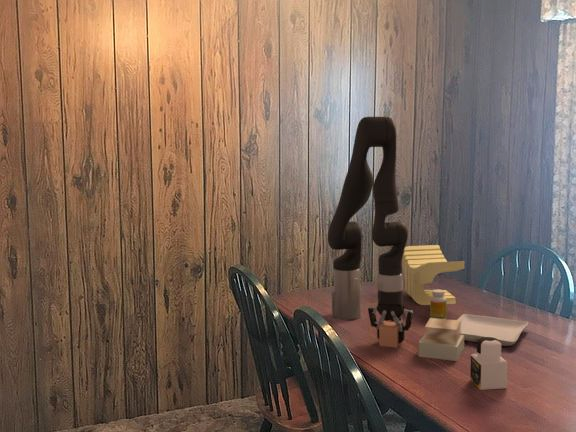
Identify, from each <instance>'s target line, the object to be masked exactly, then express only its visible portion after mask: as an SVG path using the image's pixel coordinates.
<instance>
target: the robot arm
mask: <svg viewBox="0 0 576 432" xmlns="http://www.w3.org/2000/svg"><path fill="white" fill-rule="evenodd" d="M396 126H397V125H396V123H395V121H394V119H393V118H391V117H390V116H364V117H362V118H361V119H360V120H359V122H358V124H357V128H356V131H355V135H354V136H355V137H354V143H353V147H352V153H351V157H350V162H349V166H348V168H347V172H346V175H345V178H344V181H343V186H342V188H341V194H340V197H339V201H338V203H337V207H336V209H335V212H334V215H333V217H332V220H331V221H330V225H329V226H328V229H327V230H328V231H327V242H328V243H327V244H328V246H329V247H330V248H331V249H332V250H336V251H341V250H345V252H343V254H341V255H340V256H339V257H337V258H335V259H334V260H333V264H332V266H333V272H332V273H333V289H332V290H331V312H332V313H331V316H332V317H333V318H336V319H339V320H344V321H345V320H347V321H349V320H357V319H359V318H360V317H361V316H362V315H361V313H362V310H361V309H362V308H361V303H362V302H361V299H362V297H361V262H362V249H363V248H362V246H363V245H362V243H363V234H362V233H363V232H362V228H361V226H360V224H359V223H358V222H357V221H350V220H351V219H352V217H354V216H355V215H357V213H358V212H359V211H360V210H362V208H363V207H364V206H365V205H366V204H367V203H368V201H369V199H370V197H371V194H372V195H373V203H374V219H373V225H372V231H371V238H372V241H373V243H374V244H375V245H376V246H377V247H379V248H381V247H382V248H383V247H391V249H390V250H389V251H387V252H384V253H381V254H380V255H379V256H378V261H377V262H378V274H377V275H378V277H377V305H376V306H374V305H370V306H369V307H368V309H367V311H368V317H369V323H370V326H371V327H373V328H375V329H376V338H377V340H379V326H380V325H382V324H383V323H384V322H385V321H386V322H395V324H396V325H397V327H398V329H399V332H398V342H399V343H401V344H402V343H403V342H404V340H405V331H406V332H407V331H409V330H410V329H411V326H412V323H413V322H412V321H413V316H414V310H413V309H405V306H404V280H403V279H404V278H403V267H402V258H403V254H404V249H405V247H407V242H408V238H409V237H408V236H409V231H408V228H407V226H406V225H405V223H404V222H402V221H393V222H392V221H391V222H386V219H387V217H388V216H391V215H394V214H397V213H398V212H399V199H398V192H397V191H398V190H397V181H396V180H397V179H396V171H397V169H396V168H397V167H396V166H397V127H396ZM370 148H382V161H381V165H380V168H379V170H378V172H377V175H376V177H375V179H374V176H373V175H374V174H373V172H372V170H371V168H370V166H369V163H368V159H367V158H368V152H369V150H370ZM377 312H378V314H379V315H380V317H379V320H377V316H376V314H377ZM403 314H404V317H405V318H406V320H405V325H404V321H403V317H402V315H403Z"/></svg>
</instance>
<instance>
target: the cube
mask: <svg viewBox="0 0 576 432" xmlns="http://www.w3.org/2000/svg"><path fill="white" fill-rule="evenodd" d="M398 332H399V329H398V327H397V325H396V324H395V321H386V320H385V322H384V323H383V324H382V325H380V326H379V339H378V341H379V345H378V346H380V347H388V348H389V347H390V348H399V346H400V345H401V344H402V343H399V342H398Z"/></svg>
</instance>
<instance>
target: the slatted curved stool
mask: <svg viewBox="0 0 576 432" xmlns="http://www.w3.org/2000/svg"><path fill="white" fill-rule="evenodd" d="M464 269H465V260H458V261H457V260H456V261H451V260H450V261H447V258H445V255H444V254H443V252H442V250H441V247H440V245H439V244H432V245H429V244H428V245H425V244H424V245H408V246H407V245H406V246H405V249H404V254H403V258H402V270H403V271H404V284H405V292H406V293H407V295H408V296H409V297H410V298H412V300H413V301H414V302H416V303H417V304H418V305H421V306H430V298H431V297H432V296H433V295H432V291H433V290H434V289H425V286H426V284H427V285H429V284H432V283H433V281H434V279H435V277H436V276H437V275H438V274H441V273H442V274H443V273H449V272H450V273H451V272H458V271H460V270H464ZM443 290H444V297H446V300H447V305H451V304H453V305H455V304H457V300H456V297H455V296H454V295H452V294H451V293H450V292H449V291H448V290H446V289H443Z"/></svg>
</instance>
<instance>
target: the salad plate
mask: <svg viewBox="0 0 576 432" xmlns="http://www.w3.org/2000/svg"><path fill="white" fill-rule="evenodd" d="M456 320H460V321H461V335H464V341H465V342H466V341H467V342H474V343H477V340H478V339H480V338H483V337H493V338H496V339H498V340H500V341H501V347H510V346H513V345H515V344H516V342H517V341H518V339H519V337H520V335H521V333H522V332H523V331H524V330H525V329H527V327H528V325H529V322H528V321H522V320H516V319H509V318H503V317H502V318H501V317H495V316H488V315H487V316H486V315H477V314H470V313H469V314H468V313H463V314H462V315H460V316H459V318H457V319H456Z"/></svg>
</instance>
